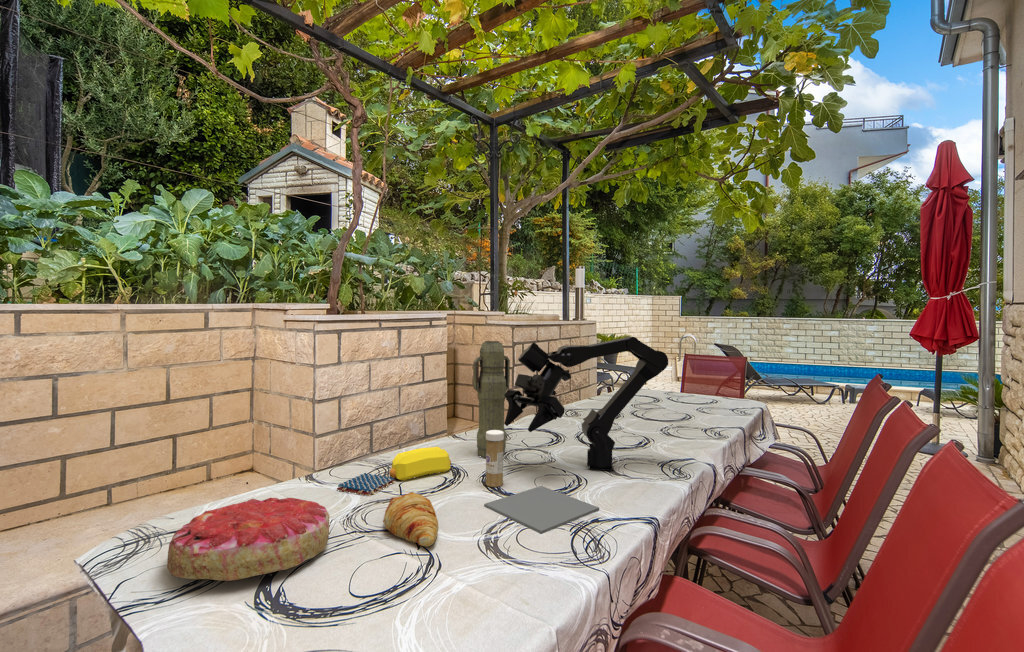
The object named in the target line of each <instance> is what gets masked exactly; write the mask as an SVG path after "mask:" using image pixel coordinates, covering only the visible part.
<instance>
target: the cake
mask: <svg viewBox="0 0 1024 652" xmlns="http://www.w3.org/2000/svg"><path fill="white" fill-rule="evenodd" d="M329 535H330V513H329V512H328V510H327V508H326V506H323V505H321V504H319V503H318V502H316V501H310V500H305V499H300V498H294V497H286V498H281V499H280V498H278V497H269V498H266V499H262V500H259V499H255V498H250V499H248V500H246V501H242V502H238V503H231V504H229V505H226V506H221V507H218V508H216V509H211V510H205V511H204V512H202V513H201V514H200V515H196V516H194V517H193V518H192V519H191V520H190V521H189V522H188V523H186V524H183V525H182V527H181V528H180V529H178V530H176V531H175V533H174V534H173V535H172V536H171V541H169V544H168V551H167V564H166V567H167V570H168V572H169V573H170V574H171V575H172V576H174V577H178V578H182V579H190V580H206V579H207V580H214V581H229V582H230V581H236V580H242V579H243V580H244V579H247V578H251V577H256V576H259V575H265V574H270V573H275V572H277V571H278V572H280V571H284V570H288V569H292V568H295V567H297V566H299V565H300V564H302V563H303V562H305V561H307V560H311V559H312V558H315V556H317V555H319V554H320V553H321V552H323V551H325V550H326V548H327V546H328V541H329Z"/></svg>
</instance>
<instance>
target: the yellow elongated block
mask: <svg viewBox="0 0 1024 652" xmlns="http://www.w3.org/2000/svg"><path fill="white" fill-rule="evenodd" d="M451 465H452V460H451V459H450V454H449V453H448V452H447V451H446V450H445V449H443V448H441V447H439V446H433V447H432V446H431V447H422V448H421V447H420V448H415V449H411V450H407V451H404V452H403V451H402V452H399V453H397V454H396V455H395V457H394V458H393V459H392V462H391V469H390V470H389V472H388V473H389V474H388V475H389V477H392V478H394V479H398V480H400V481H402V480H405V481H408V480H407V479H409V480H412V479H411V478H413V479H415V478H414V477H417V478H419V476H420V477H423V476H428V474H429V475H434V474H433V473H437V474H440V473H439V472H443V473H446V472H445V471H447V472H448V471H450V469H451V468H452V466H451Z"/></svg>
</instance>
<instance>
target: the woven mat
mask: <svg viewBox="0 0 1024 652" xmlns="http://www.w3.org/2000/svg"><path fill="white" fill-rule="evenodd" d="M390 483H394V484H395V483H396V482H395V478H392V477H390V476H388V477H387V475H384V476H382V474H379V475H377V474H375V473H374V474H372V473H369V474H368V473H367V472H363V473H362V474H361V473H360V474H359V475H358V476H354V478H353V477H352V478H351V479H347V480H346V481H343V482H342V483H339V484H338V485H337V487H336V490H340V491H339V492H343V493H348V492H350V493H349V494H353V493H356V494H355V495H360V494H361V495H360V496H364V495H366V497H372V495H375V494H378V493H379V492H380V491H382V490H381V489H383V488H384V489H386V488H388V487H390V486H389V485H391V484H390ZM386 486H387V487H386ZM344 491H345V492H344ZM377 491H379V492H377Z"/></svg>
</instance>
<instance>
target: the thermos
mask: <svg viewBox="0 0 1024 652" xmlns="http://www.w3.org/2000/svg"><path fill="white" fill-rule="evenodd" d="M481 343H482V344H481V347H480V350H479V356H478V357H476V358H475V359H474V361H473V390H475V392H476V393H477V400H478V431H477V432H476V448H477V453H476V454H478V455H477V457H478V456H481V457H484V458H483V459H486V451H487V450H486V449H487V441H486V432H487V431H489V430H500V431H503V432H504V439H503V456H504V455H505V456H506V447H507V442H506V441H507V433H506V430H505V401H506V397H505V396H504V395H505V393H506V392H507V390H510V381H511V379H510V378H511V377H510V375H511V373H510V372H511V371H510V369H511V368H510V367H511V365H510V364H511V360H510V358H509V357H508V356H506V355H505V349H504V345H503V343H502V342H500V341H499V340H486V341H484V342H481ZM505 456H504V457H505ZM481 457H480V458H481Z"/></svg>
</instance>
